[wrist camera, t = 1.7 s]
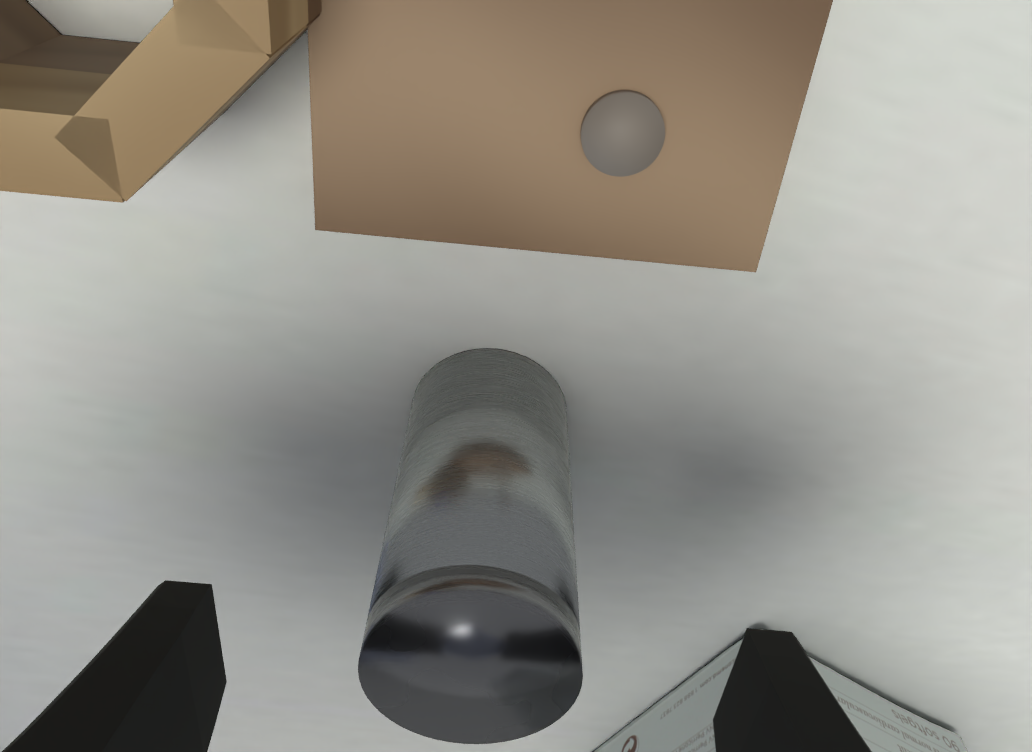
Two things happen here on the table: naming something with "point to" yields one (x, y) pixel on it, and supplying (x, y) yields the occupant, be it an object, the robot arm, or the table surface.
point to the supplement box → (691, 706)
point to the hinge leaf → (136, 99)
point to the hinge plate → (537, 118)
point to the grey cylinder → (478, 559)
